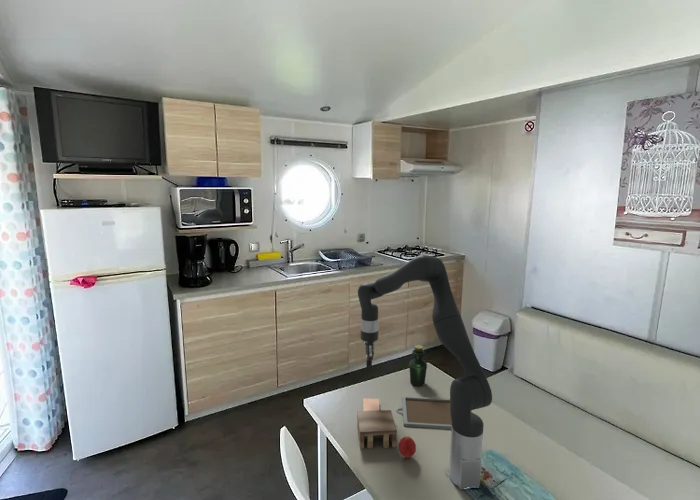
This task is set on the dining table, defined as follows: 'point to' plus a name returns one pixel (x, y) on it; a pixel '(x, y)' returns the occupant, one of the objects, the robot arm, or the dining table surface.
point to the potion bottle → (418, 367)
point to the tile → (370, 404)
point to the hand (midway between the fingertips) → (368, 366)
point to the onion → (407, 447)
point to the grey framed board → (426, 412)
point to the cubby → (376, 427)
